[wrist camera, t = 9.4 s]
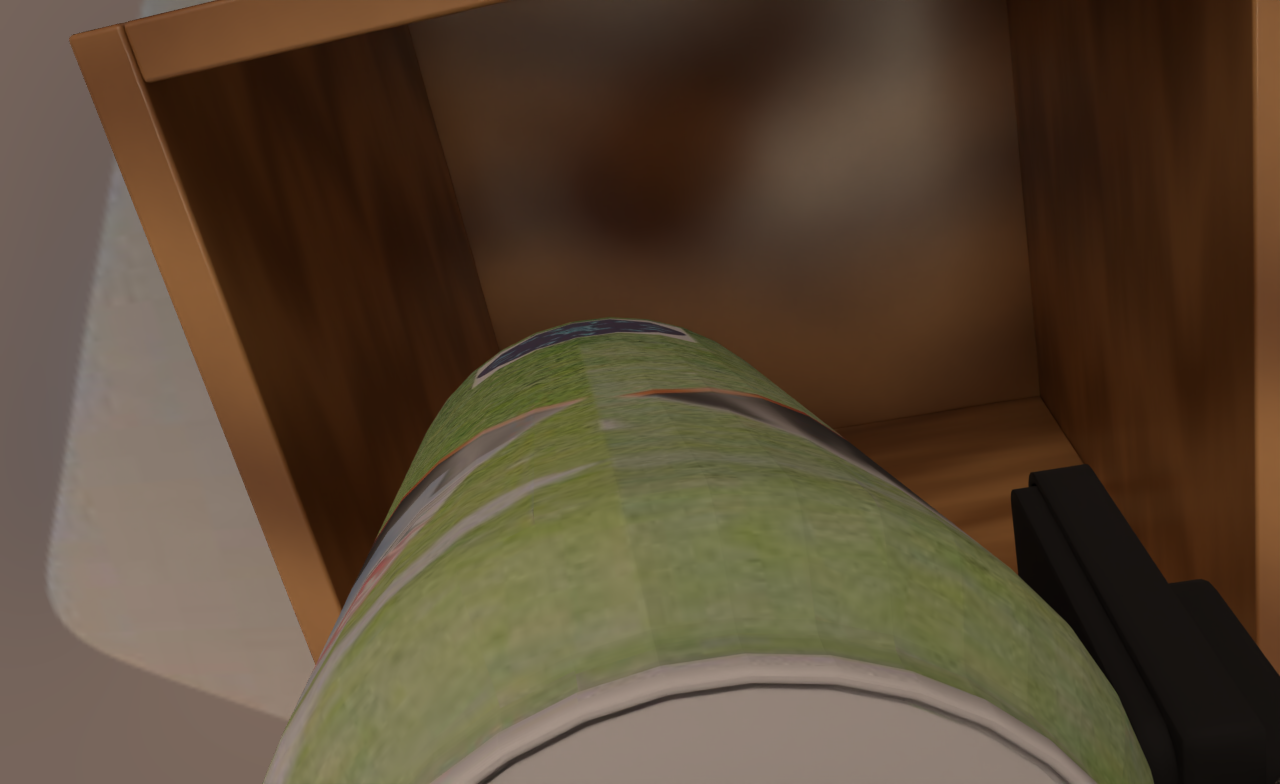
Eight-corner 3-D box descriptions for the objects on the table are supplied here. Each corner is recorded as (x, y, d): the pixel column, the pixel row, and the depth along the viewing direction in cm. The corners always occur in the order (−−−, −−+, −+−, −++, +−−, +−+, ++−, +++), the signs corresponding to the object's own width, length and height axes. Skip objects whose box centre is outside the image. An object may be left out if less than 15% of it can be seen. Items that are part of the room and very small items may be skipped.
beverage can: (428, 667, 18) (194, 1772, 7) (394, 212, 16) (-55, 730, 4) (812, 652, 18) (1209, 1679, 7) (836, 207, 16) (1491, 669, 5)
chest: (371, -23, 27) (64, 36, 15) (1019, -176, 25) (1327, -265, 12) (520, 492, 33) (392, 863, 20) (1064, 404, 31) (1310, 758, 18)
